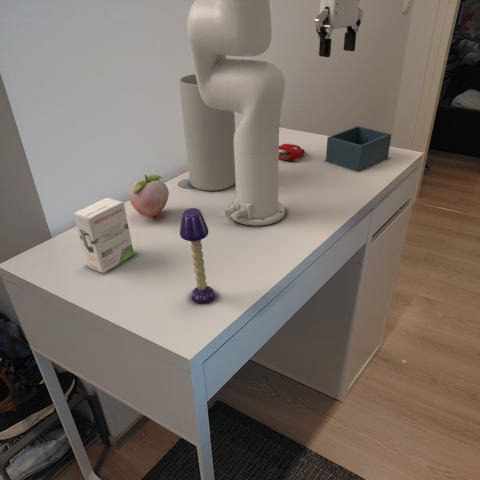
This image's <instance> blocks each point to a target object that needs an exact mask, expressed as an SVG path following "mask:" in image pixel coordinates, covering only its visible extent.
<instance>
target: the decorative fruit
mask: <svg viewBox="0 0 480 480" xmlns="http://www.w3.org/2000/svg"><path fill="white" fill-rule="evenodd" d="M161 179H163V177H162V176H161V175H159V174H151V175H148V176H147V174H145V175H144V178H139V179H138V180H136V181H135V182H134V183H133V184H132V185H131V187H130V188H129V191H128V199H129V202H130V204H131V207H133V209H134V210H135V211H136V212H137V213H139V214H140V215H142V216H144V217H150V218H153V217H156V216H157V215H158V214H159V213H161V212H162V211H163V210H164V209H165V207H166V205H167V203H168V200H169V195H170V192H169V188H168V185H166V183H165V182H164V181H162V180H161Z"/></svg>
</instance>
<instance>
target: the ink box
mask: <svg viewBox="0 0 480 480" xmlns="http://www.w3.org/2000/svg"><path fill="white" fill-rule="evenodd" d="M72 215H73V218H74V221H75V225H76V228H77V232H78V235H79V240H80V243H81V246H82V250H83V254H84V258H85V261H86V265H87V267H88V268H90V269H93V270H95V271H97V272H99V273H101V274H105V273H107V272H108V271H110V270H112V269H113V268H115V267H116V266H118V265H119V264H121V263H123V262H125V261H126V260H128V259H130V258H131V257H133V256H134V255H135V252H134V248H133V247H134V246H133V243H132V238H131V232H130V228H129V222H128V218H127V213H126V206H125V203H124V202H123V201H121V200H117V199H114V198H111V197H105V198H103V199H100V200H99V201H96V202H94V203H91V204H90V205H89V206H86V207H84V208H81V209H79V210H76V211H75V212H73V213H72Z"/></svg>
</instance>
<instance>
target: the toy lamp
mask: <svg viewBox="0 0 480 480" xmlns="http://www.w3.org/2000/svg"><path fill="white" fill-rule="evenodd" d="M180 218H181V219H180V227H179V228H180V229H179V236H180V238H181V239H182V240H184V241H187V242H190V248H191V251H192V253H191V255H192V259H193V266H194V269H193V270H194V274H195V282H196V287H195V288H194V289H193V290H192V291H191V301H192V302H194V303H196V304H199V305H201V304H202V305H203V304H204V305H205V304H208V303H211V302H212V301H214V299H215V298H216V293H215V291H214V289H213V288H212V287H211V286H209V285H208V283H207V281H206V280H207V276H206V268H205V260H204V253H203V245H202V240H204V239H205V238H206V237H208V234H209V228H208V225H207V222H206V221H205V218H204V215H203V213H202V211H201V210H200V209H198V208H196V207H191V208H186V209H184V210H183V211H182V213H181V217H180Z"/></svg>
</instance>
